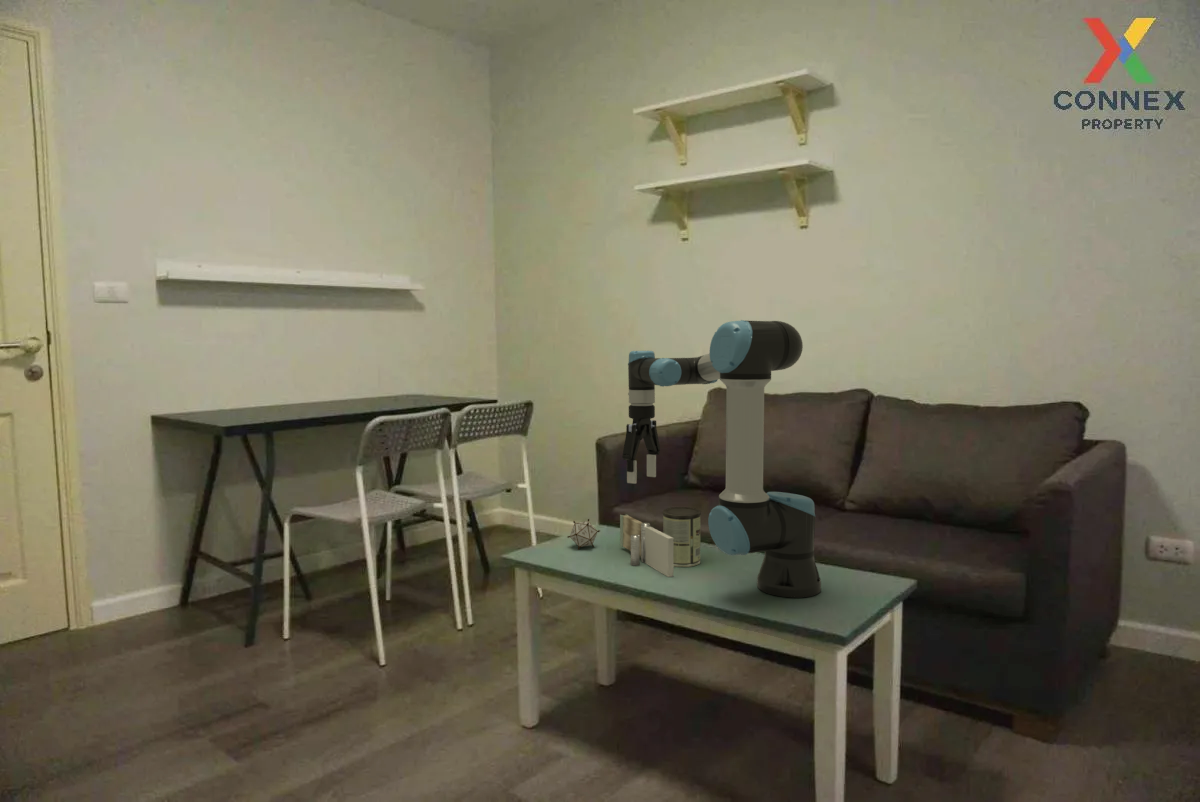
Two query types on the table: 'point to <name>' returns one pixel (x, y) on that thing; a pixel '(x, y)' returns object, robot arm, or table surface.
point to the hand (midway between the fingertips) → (641, 479)
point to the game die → (583, 534)
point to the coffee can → (683, 534)
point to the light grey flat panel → (659, 551)
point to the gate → (629, 530)
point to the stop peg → (635, 550)
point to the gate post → (643, 540)
